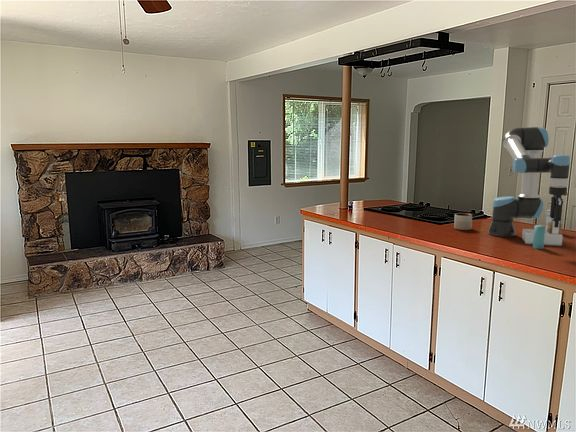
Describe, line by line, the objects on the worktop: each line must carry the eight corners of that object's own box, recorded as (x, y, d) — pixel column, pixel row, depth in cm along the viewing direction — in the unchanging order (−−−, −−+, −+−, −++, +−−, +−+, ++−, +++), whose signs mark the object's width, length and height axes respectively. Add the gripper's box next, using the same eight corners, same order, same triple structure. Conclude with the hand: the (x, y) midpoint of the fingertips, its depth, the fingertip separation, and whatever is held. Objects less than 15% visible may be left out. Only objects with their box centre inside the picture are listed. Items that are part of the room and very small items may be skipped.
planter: (467, 226, 291) (467, 212, 289) (474, 230, 280) (475, 215, 279) (451, 227, 291) (452, 213, 289) (458, 230, 280) (458, 216, 278)
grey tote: (525, 243, 243) (526, 233, 242) (522, 238, 256) (522, 228, 255) (561, 245, 237) (562, 235, 236) (556, 240, 250) (557, 230, 249)
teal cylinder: (533, 248, 233) (535, 226, 230) (532, 246, 237) (533, 225, 235) (544, 249, 231) (546, 227, 229) (542, 247, 235) (544, 225, 233)
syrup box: (552, 234, 265) (555, 210, 262) (544, 232, 270) (546, 209, 268) (560, 233, 266) (562, 210, 264) (552, 231, 272) (554, 208, 269)
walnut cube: (549, 233, 217) (550, 224, 216) (547, 231, 221) (548, 222, 220) (560, 234, 215) (561, 224, 214) (558, 232, 219) (559, 222, 218)
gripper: (571, 189, 204) (566, 236, 208) (562, 184, 220) (558, 228, 225) (553, 188, 206) (549, 235, 211) (546, 184, 223) (542, 227, 227)
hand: (553, 232), depth 218 cm, fingers closed on walnut cube, 5 cm apart
